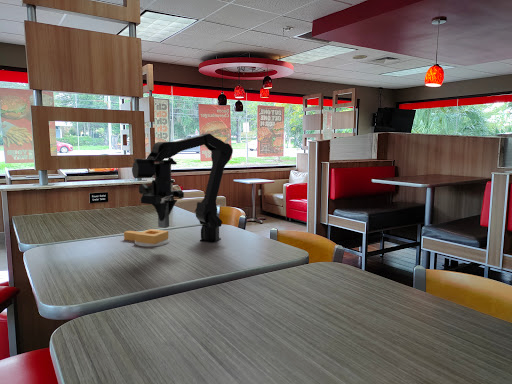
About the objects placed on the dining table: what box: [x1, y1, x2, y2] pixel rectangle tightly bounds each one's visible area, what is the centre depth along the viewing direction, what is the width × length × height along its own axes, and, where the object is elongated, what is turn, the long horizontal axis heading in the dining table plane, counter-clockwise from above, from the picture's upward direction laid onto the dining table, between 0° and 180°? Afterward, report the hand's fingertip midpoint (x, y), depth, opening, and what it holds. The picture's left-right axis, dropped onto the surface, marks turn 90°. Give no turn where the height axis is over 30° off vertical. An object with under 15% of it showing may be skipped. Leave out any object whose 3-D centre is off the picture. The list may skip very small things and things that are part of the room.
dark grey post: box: [157, 202, 170, 229], centre depth 135 cm, size 3×2×9 cm
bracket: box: [123, 228, 170, 248], centre depth 146 cm, size 19×13×4 cm
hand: (163, 220), depth 136 cm, fingers closed on dark grey post, 2 cm apart
